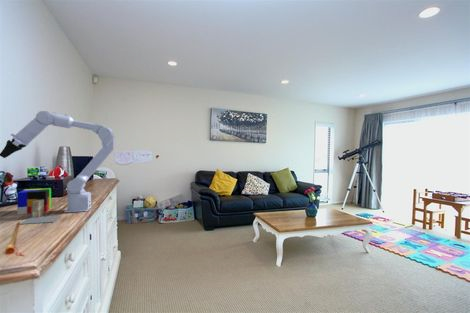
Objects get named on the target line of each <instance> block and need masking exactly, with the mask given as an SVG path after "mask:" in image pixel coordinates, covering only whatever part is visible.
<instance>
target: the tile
mask: <svg viewBox="0 0 470 313" xmlns="http://www.w3.org/2000/svg"><path fill="white" fill-rule="evenodd" d="M44 215H45V212H44V199H43V200H35V201H33V202H32V213H31V218H37V217H44Z"/></svg>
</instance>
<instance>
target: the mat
mask: <svg viewBox="0 0 470 313" xmlns="http://www.w3.org/2000/svg"><path fill="white" fill-rule="evenodd" d="M61 217H62V215H56V216H55V215H53V216H41V217H37V218H32V217H29V218H28V219H26V220H24V221H22V222H20V223H19V224H20V225H21V226H22V225H32V224H48V223H55V222H56V221H57V220H59V219H60V218H61Z"/></svg>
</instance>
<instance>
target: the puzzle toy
mask: <svg viewBox="0 0 470 313" xmlns="http://www.w3.org/2000/svg"><path fill="white" fill-rule="evenodd" d="M43 199H44V213H47V212H48V211H49V210H51V208H52V188H51V187H48V188H47V187H46V188H45V187H44V188H29V189H27V188H25V189H23V190H21V191H18V192H17V215H28V214H30V215H32V202H33V201H35V200H43ZM46 211H47V212H46Z"/></svg>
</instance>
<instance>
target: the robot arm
mask: <svg viewBox="0 0 470 313" xmlns="http://www.w3.org/2000/svg"><path fill="white" fill-rule="evenodd" d="M48 126H53V127H60V128H65V129H71V128H72V127H73V128H74V127H75V128H79V129H84V130H88V131H92V132H93V133H95V134H96V135H98V137H99V139H100V141H101V145H102V148H101V149H99V151H97V153H96V154H95V155H94V157H93V158H92V159H91V160H90V161H89V162H88V164H87V165H86V166H85V167H84V168H83V169H82V171H81V172H80V173H79V174H78V175H76V177H75V178H72V180H69V182H67V184H66V189H67V209H65V210H64V212H63V213H79V212H80V213H81V212H82V213H83V212H88V211H89V210H90V209H91V208H92V193H91V192H90V191H86V190H85V187H86V184H87V182H88V181H89V179H90V178H91V176H92V175H93V174H95V172H96V171H97V170H98V168H100V166H101V165H102V164H103V162H105V161H106V159H107V158H108V157H109V155H110V154H111V153H112V152H113V151H114V148H115V135H114V132H113V130H112V129H111V128H110V127H107V126H104V125H100V124H97V123H92V122H87V121H80V120H75V119H74V118H73V117H72V116H69V114H64V115H63V114H58V113H56V112H54V111H53V112H52V113H51V112H50V111H47V110H41V111H38V112H37V113H36V115H35V117H34V118H33V119H32V120H30V121H29V122H28V123H27V124H26V125H25V126H24V127H23V128H22V129H21V130H19V131H18V132H17V133H16V134H14V133H11V134H10V136H11V137H12V139H11V140H10V139H8V140H7V141H6V143H5V147H4V148H3V149H2V150H1V151H0V157H1V158H3V159H6V158H8V157H9V156H11V155H12V154H13V153H16V152H18V151H21V150H23V148H26V147H27V146H29V145H30V143H31V142H32V141H33V140H34V139H36V137H38V136H39V135H40V134H41V133H42V132H43V131H44V130H45V129H47V127H48Z"/></svg>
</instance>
